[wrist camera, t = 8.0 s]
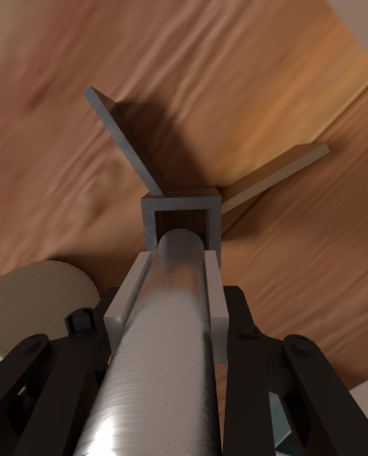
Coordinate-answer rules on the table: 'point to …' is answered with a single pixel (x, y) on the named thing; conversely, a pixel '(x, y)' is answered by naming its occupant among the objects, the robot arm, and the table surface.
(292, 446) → the flower pot
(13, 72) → the table surface
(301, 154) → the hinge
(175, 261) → the hinge pin
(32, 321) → the canister
